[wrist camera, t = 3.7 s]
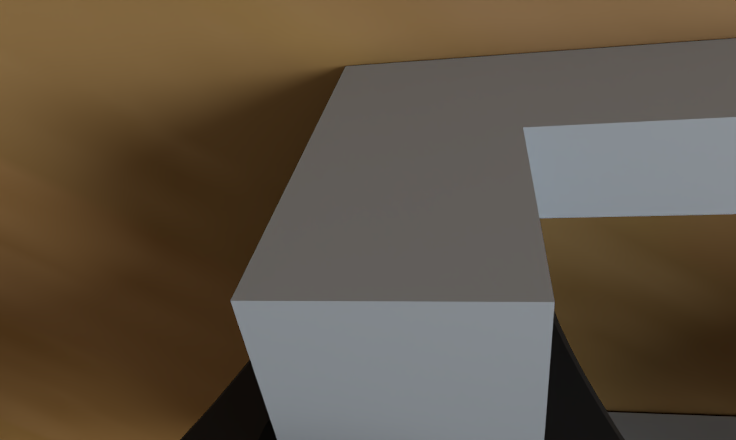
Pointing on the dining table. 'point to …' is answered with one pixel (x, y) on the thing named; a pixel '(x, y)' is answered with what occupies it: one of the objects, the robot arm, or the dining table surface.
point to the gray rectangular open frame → (470, 233)
